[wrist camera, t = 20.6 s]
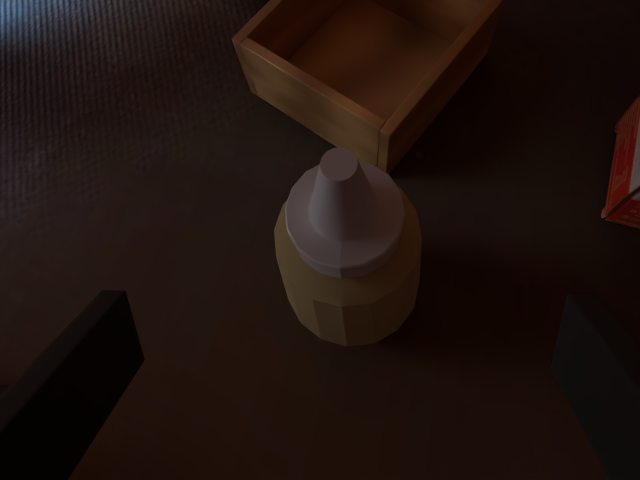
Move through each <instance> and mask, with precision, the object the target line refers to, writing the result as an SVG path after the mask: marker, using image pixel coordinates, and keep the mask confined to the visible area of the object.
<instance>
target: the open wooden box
mask: <svg viewBox="0 0 640 480" xmlns="http://www.w3.org/2000/svg"><path fill="white" fill-rule="evenodd" d="M504 3H505V0H270V1H269V2H268V3H267V4H266V5H265V6H264V7H263V8H262V9H261V10H260V11H259V12H258V13H257V14H256V15H255V16H254V17H253V18H252V19H251V20H250V21H249V22H248V23H247V24H246V25H245V26H244V27H243V28H242V29H241V30H240V31H239V32H238V33H237V34H236V35H235V36H234V37H233V38H232V42H233V44H234V47H235V50H236V52H237V55H238V58H239V61H240V63H241V66H242V69H243V71H244V74H245V77H246V79H247V82H248V85H249V87H250V90H251V92H253V93H254V94H256V95H257V96H259V97H260V98H262V99H263V100H265V101H267V102H268V103H270V104H271V105H273V106H274V107H276V108H277V109H279V110H280V111H282V112H284V113H285V114H287V115H288V116H290V117H291V118H293V119H294V120H296V121H297V122H299V123H301V124H302V125H304V126H305V127H307V128H308V129H310V130H311V131H313V132H314V133H316V134H318V135H319V136H321V137H322V138H324V139H325V140H327V141H328V142H330V143H331V144H333V145H335V146H336V147H342V148H346V149H349V150H350V151H352V152H353V153H354V155H355V156H356V158H357V159H358V160H361V161H366V162H370V163H372V164H373V165H375V166H376V167H378V168H380V169H381V170H383V171H384V172H386V173H387V174H390V173H391V171H392V170H393V169H394V168H395V167H396V165H397V164H398V163H399V162H400V160H401V159H402V158H403V157H404V155H405V154H406V153H407V152H408V151H409V149H410V148H411V147H412V146H413V144H414V143H415V142H416V141H417V139H418V138H419V137H420V136H421V135H422V133H423V132H424V131H425V130H426V128H427V127H428V126H429V125H430V123H431V122H432V121H433V120H434V119H435V117H436V116H437V115H438V114H439V112H440V111H441V110H442V109H443V108H444V106H445V105H446V104H447V103H448V101H449V100H450V99H451V98H452V96H453V95H454V94H455V93H456V92H457V90H458V89H459V88H460V87H461V85H462V84H463V83H464V82H465V80H466V79H467V78H468V77H469V76H470V74H471V73H472V72H473V71H474V69H475V68H476V67H477V66H478V64H479V63H480V62H481V61H482V60H483V58H484V57H485V56H486V54H487V50H488V48H489V45H490V42H491V39H492V36H493V34H494V31H495V28H496V25H497V22H498V20H499V17H500V14H501V11H502V8H503V6H504Z"/></svg>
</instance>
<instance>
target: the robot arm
mask: <svg viewBox="0 0 640 480" xmlns="http://www.w3.org/2000/svg"><path fill="white" fill-rule="evenodd" d="M143 362H144V356H143V352H142V349H141V345H140V342H139V338H138V334H137V331H136V327H135V324H134V320H133V316H132V313H131V309H130V305H129V302H128V298H127V295H126V291H110V290H102V291H101V292H100V293H99V294H98V295H97V296H96V297H95V298H94V299H93V300H92V301H91V302H90V303H89V305H88V306H87V307H86V308H85V309H84V310H83V311H82V312H81V313H80V314H79V315H78V316H77V317H76V318H75V319H74V320H73V321H72V322H71V323H70V324H69V325H68V326H67V327H66V328H65V329H64V330H63V331H62V333H61V334H60V335H59V336H58V337H57V338H56V339H55V340H54V341H53V342H52V343H51V344H50V345H49V346H48V347H47V348H46V349H45V350H44V351H43V352H42V353H41V354H40V355H39V356H38V357H37V358H36V359H35V361H34V362H33V363H32V364H31V365H30V366H29V367H28V368H27V369H26V370H25V371H24V372H23V373H22V374H21V375H20V376H19V377H18V378H17V379H16V380H15V381H14V382H13V383H12V384H11V385H10V386H9V387H0V480H68V478H69V477H70V475H71V474H72V472H73V471H74V469H75V468H76V466H77V464H78V463H79V461H80V460H81V458H82V457H83V455H84V454H85V452H86V450H87V449H88V447H89V446H90V444H91V443H92V441H93V440H94V438H95V436H96V435H97V433H98V432H99V430H100V429H101V427H102V426H103V424H104V422H105V421H106V419H107V418H108V416H109V415H110V413H111V411H112V410H113V408H114V407H115V405H116V404H117V402H118V401H119V399H120V397H121V396H122V394H123V393H124V391H125V390H126V388H127V387H128V385H129V383H130V382H131V380H132V379H133V377H134V376H135V374H136V373H137V371H138V369H139V368H140V366H141V365H142V363H143ZM550 369H551V371H552V373H553V375H554V377H555V378H556V380H557V382H558V384H559V386H560V388H561V390H562V391H563V393H564V395H565V397H566V399H567V401H568V403H569V404H570V406H571V408H572V410H573V412H574V414H575V416H576V417H577V419H578V421H579V423H580V425H581V427H582V429H583V430H584V432H585V434H586V436H587V438H588V440H589V441H590V443H591V445H592V447H593V449H594V451H595V453H596V454H597V456H598V458H599V460H600V462H601V464H602V466H603V467H604V469H605V471H606V473H607V475H608V477H609V479H610V480H640V344H639V343H638V342H637V341H636V340H635V339H634V337H633V336H632V335H631V334H630V333H629V332H628V330H627V329H626V328H625V327H624V326H623V324H622V323H621V322H620V321H619V320H618V319H617V317H616V316H615V315H614V314H613V313H612V312H611V310H610V309H609V308H608V307H607V306H606V305H605V303H604V302H603V301H602V300H601V299H600V298H599V296H598V295H597V294H594V293H567V298H566V302H565V306H564V311H563V315H562V320H561V324H560V328H559V333H558V337H557V342H556V346H555V350H554V355H553V359H552V364H551V368H550Z"/></svg>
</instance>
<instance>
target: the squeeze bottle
mask: <svg viewBox="0 0 640 480" xmlns="http://www.w3.org/2000/svg"><path fill="white" fill-rule="evenodd" d="M274 233H275V246H276V257H277V261H278V265H279V268H280V272H281V275H282V279H283V282H284V286H285V289H286V293H287V296H288V300H289V302H290V304H291V306H292V307H293V309H294V311H295V313H296V315H297V317H298V319H299V321H300V323H302V324H303V325H304V326H305V327H307V328H308V329H309V330H310V331H312V332H313V333H314V334H315V335H316V336H318V337H319V338H320V339H322V340H325V341H329V342H332V343H336V344H339V345H343V346H346V347H349V346H358V345H366V344H374V343H376V342H378V341H379V340H381V339H383V338H385V337H386V336H388V335H390V334H392V333H393V332H395V331H397V330H398V329H399V328H400V326H401V325H402V324H403V322H404V321H405V320H406V318H407V317H408V315H409V314H410V313H411V311H412V310H413V309H414V305H415V300H416V296H417V292H418V287H419V282H420V263H421V245H422V236H421V231H420V225H419V220H418V215H417V211H416V209H415V208H414V206H413V205H412V203H411V202H410V200H409V199H408V198H407V196H406V195H405V193H404V192H403V190H402V189H401V188H400V187H398V186H397V185H396V184H395V183H394V181H393V180H392V178H391V177H390V175H389V174H387V173H386V172H384V171H383V170H381V169H380V168H378V167H376V166H375V165H373V164H372V163H370V162H366V161H361V160H358V159H357V158H356V156H355V155H354V153H353V152H352V151H350V150H349V149H346V148H342V147H338V148H332V149H331V150H329V151H327V152H326V153H325V154H324V155H323V156H322V158H321V162H320V164H319V165H317V166H316V167H314V168H312V169H310V170H308V171H306V172H305V173H304V175H303V176H302V177H301V178H300V179H299V180H298V181H297V183H296V184H295V185H294V186H293V187H292V189H291V192H290V195H289V198H288V199H287V201H286V202H285V203H284V204H283V206H282V209H281V212H280V215H279V218H278V221H277V223H276V226H275V229H274Z"/></svg>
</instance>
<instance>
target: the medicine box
mask: <svg viewBox="0 0 640 480" xmlns="http://www.w3.org/2000/svg"><path fill="white" fill-rule="evenodd" d="M614 132H615V133H617V136H616V142H615V149H614V155H613V161H612V167H611V174H610V180H609V186H608V193H607V200H606V205H605V208H604V209H603V210H602V215H601V218H605V220H606V221H611V222H615V223H619V224H623V225H627V226H631V227H635V228H639V229H640V95H639V96H638V98H637V99H636V100H635V101H634V102H633V103H632V104H631V106H630V107H629V108H628V110H627V111H626V112H625V113H624V115H623V116H622V117H621V119H620V120H619V122H617V123H616V125H615V131H614Z"/></svg>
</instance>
